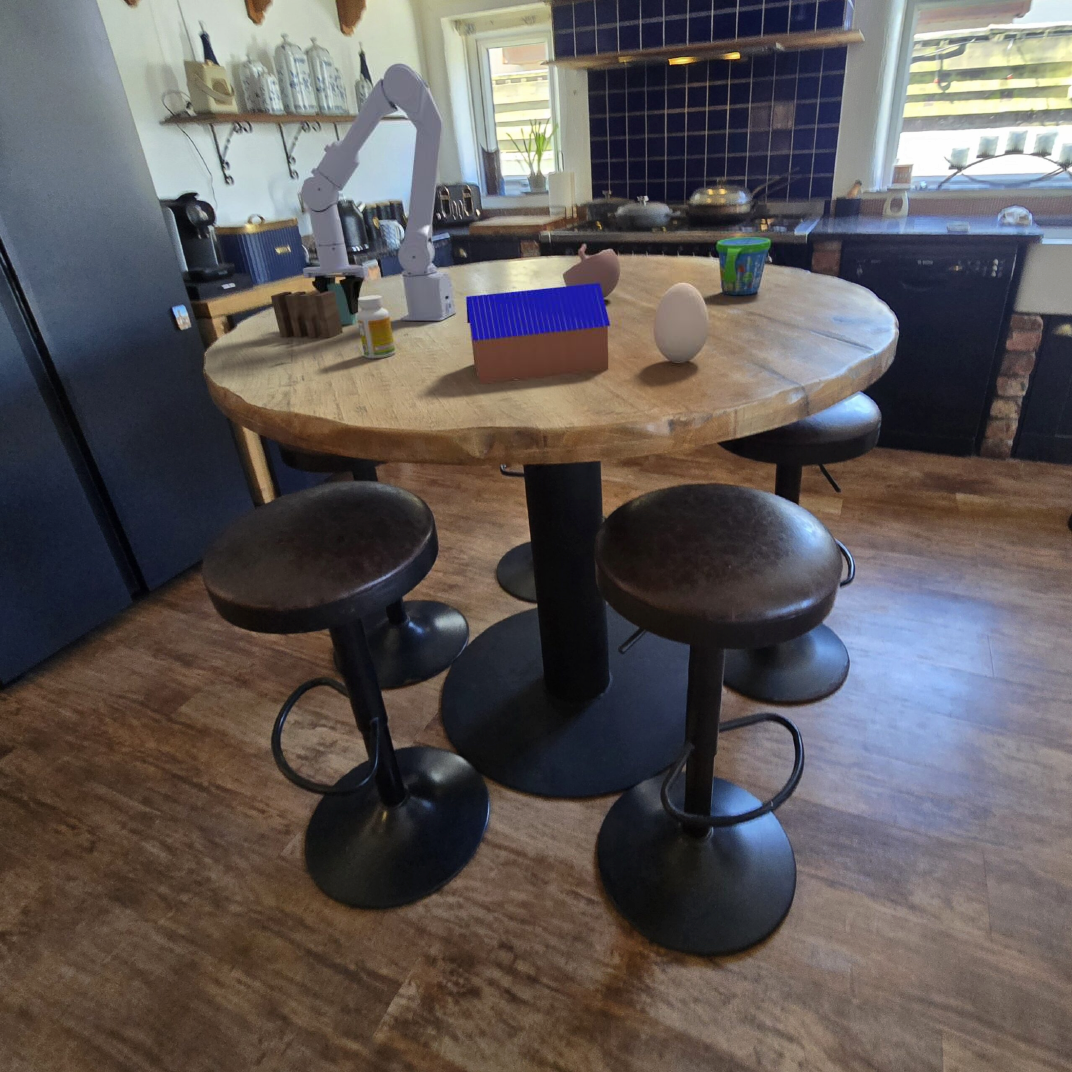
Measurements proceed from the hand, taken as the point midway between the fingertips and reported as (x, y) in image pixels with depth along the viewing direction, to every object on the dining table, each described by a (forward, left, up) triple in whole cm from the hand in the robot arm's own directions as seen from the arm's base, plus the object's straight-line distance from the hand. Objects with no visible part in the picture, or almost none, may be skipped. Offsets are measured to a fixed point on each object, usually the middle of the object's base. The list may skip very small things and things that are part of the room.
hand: (344, 313), depth 145 cm
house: (-53, +27, -2) cm, 59 cm away
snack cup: (-78, -30, -2) cm, 84 cm away
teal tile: (0, 0, -2) cm, 2 cm away
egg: (-74, +23, -2) cm, 78 cm away
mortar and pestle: (-48, -22, -2) cm, 53 cm away
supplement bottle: (-22, +23, -2) cm, 32 cm away
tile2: (-4, +10, -2) cm, 11 cm away
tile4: (+3, +10, -2) cm, 11 cm away
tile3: (0, +10, -2) cm, 10 cm away
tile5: (+7, +10, -2) cm, 12 cm away
